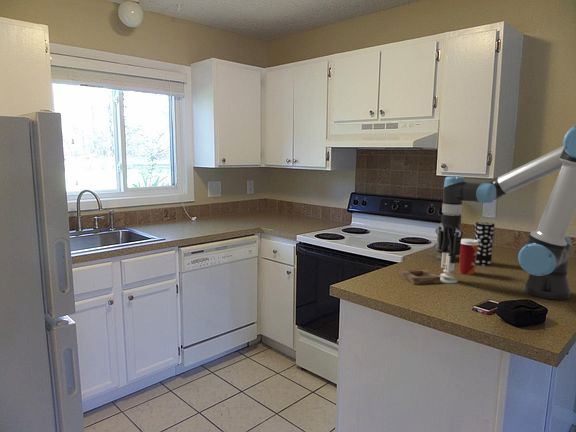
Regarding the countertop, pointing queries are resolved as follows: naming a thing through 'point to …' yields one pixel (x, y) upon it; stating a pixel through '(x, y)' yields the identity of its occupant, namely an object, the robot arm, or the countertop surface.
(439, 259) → the apothecary jar
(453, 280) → the coaster
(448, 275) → the candle
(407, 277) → the holder
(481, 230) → the spotted tube
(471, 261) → the coffee cup
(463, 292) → the countertop surface
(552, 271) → the robot arm
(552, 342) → the countertop surface
